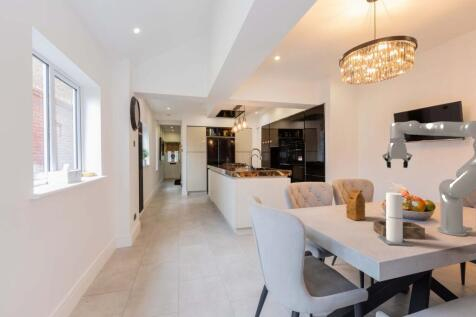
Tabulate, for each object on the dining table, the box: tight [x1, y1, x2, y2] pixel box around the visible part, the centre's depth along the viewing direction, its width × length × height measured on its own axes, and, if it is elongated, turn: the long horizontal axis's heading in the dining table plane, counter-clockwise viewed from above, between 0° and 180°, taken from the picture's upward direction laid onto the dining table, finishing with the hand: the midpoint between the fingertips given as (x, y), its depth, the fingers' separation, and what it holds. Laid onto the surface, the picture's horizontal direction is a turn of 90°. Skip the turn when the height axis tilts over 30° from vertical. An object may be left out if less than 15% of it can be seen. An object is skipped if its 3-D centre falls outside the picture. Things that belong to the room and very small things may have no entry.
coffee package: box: [345, 187, 366, 221], centre depth 159 cm, size 10×12×22 cm
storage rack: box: [372, 220, 426, 240], centre depth 126 cm, size 21×11×6 cm, turn 81°
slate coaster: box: [377, 235, 413, 247], centre depth 116 cm, size 11×11×1 cm
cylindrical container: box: [385, 192, 404, 243], centre depth 116 cm, size 7×7×25 cm
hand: (397, 167), depth 140 cm, fingers open, 9 cm apart
